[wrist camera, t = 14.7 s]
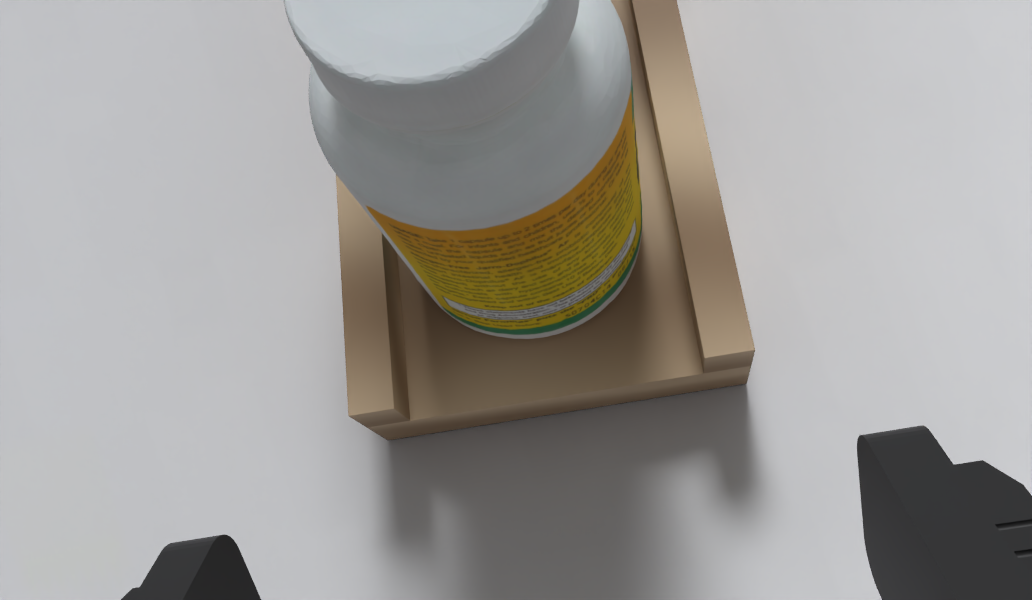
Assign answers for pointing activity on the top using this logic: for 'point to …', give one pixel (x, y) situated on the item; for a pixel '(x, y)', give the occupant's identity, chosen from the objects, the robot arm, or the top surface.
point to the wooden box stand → (599, 341)
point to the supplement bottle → (485, 148)
